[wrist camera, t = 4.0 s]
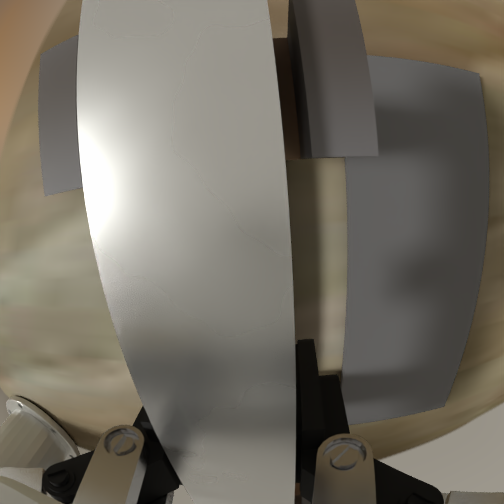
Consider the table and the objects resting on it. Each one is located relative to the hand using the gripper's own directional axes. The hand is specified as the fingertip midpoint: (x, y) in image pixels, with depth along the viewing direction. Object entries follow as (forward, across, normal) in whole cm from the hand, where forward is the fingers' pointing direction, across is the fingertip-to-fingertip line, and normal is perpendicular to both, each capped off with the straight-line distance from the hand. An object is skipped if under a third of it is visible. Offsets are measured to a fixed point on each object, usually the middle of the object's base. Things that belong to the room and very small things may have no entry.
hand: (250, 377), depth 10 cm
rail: (-1, 0, 0) cm, 1 cm away
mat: (+9, -10, 0) cm, 13 cm away
